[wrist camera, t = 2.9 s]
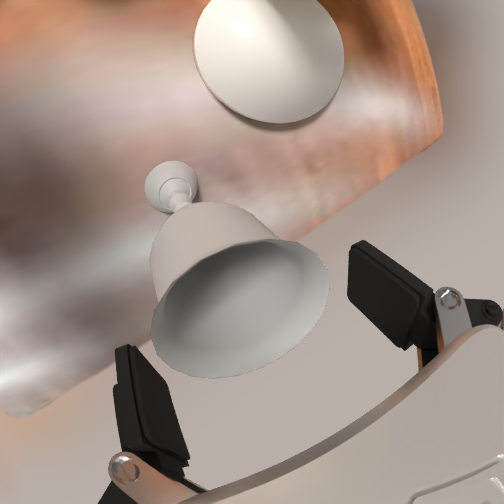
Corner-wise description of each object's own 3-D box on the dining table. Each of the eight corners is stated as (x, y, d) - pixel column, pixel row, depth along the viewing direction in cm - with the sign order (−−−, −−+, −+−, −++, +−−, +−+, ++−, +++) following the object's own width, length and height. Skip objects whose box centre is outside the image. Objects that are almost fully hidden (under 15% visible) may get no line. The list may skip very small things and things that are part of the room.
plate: (178, -11, 14) (180, -16, 13) (323, -11, 18) (329, -14, 17) (213, 140, 23) (217, 141, 22) (345, 110, 27) (352, 111, 26)
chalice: (131, 221, 24) (156, 389, 10) (135, 149, 21) (146, 241, 7) (204, 220, 27) (302, 358, 13) (214, 153, 24) (351, 237, 10)
